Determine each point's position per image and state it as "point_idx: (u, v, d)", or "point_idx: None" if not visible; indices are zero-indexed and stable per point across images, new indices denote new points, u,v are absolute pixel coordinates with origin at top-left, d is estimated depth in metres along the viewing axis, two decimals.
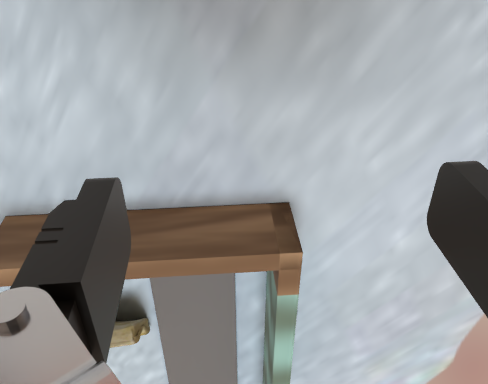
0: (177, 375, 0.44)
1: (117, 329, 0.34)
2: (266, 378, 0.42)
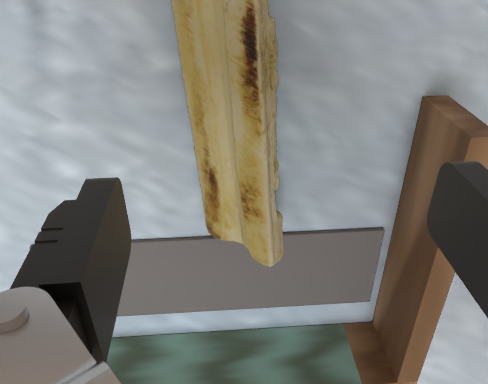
0: None
1: (282, 240, 0.25)
2: (150, 360, 0.33)
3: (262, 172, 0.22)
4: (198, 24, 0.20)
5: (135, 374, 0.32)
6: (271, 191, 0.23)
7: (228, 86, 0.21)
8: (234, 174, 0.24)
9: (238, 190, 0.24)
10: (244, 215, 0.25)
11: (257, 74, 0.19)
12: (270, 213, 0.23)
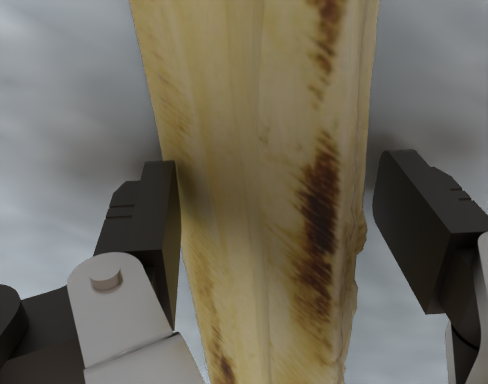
0: None
1: None
2: None
3: None
4: (202, 148, 0.10)
5: None
6: None
7: (260, 260, 0.11)
8: (265, 377, 0.14)
9: None
10: None
11: (330, 275, 0.09)
12: None
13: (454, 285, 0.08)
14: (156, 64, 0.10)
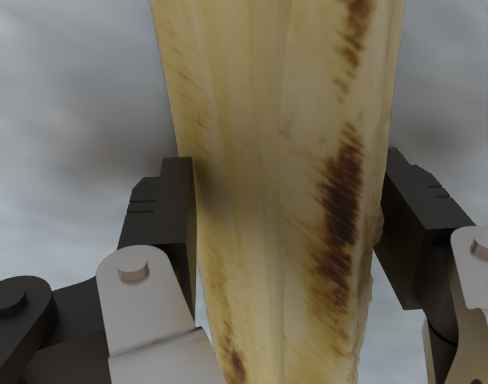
0: None
1: None
2: None
3: None
4: (220, 142, 0.10)
5: None
6: None
7: (276, 254, 0.11)
8: (277, 370, 0.14)
9: None
10: None
11: (350, 266, 0.09)
12: None
13: (429, 281, 0.08)
14: (176, 59, 0.10)
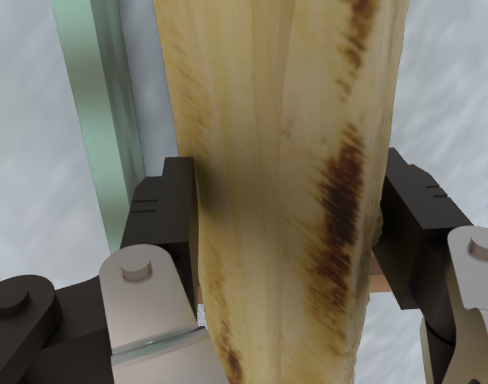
0: None
1: None
2: None
3: None
4: (221, 141, 0.10)
5: None
6: None
7: (275, 254, 0.11)
8: (274, 370, 0.14)
9: None
10: None
11: (348, 267, 0.09)
12: None
13: (427, 280, 0.08)
14: (177, 58, 0.10)
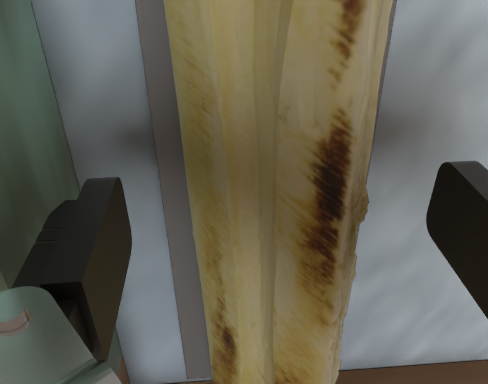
0: None
1: None
2: None
3: (322, 372, 0.13)
4: (222, 126, 0.11)
5: None
6: None
7: (270, 232, 0.12)
8: (266, 345, 0.15)
9: (271, 368, 0.15)
10: None
11: (337, 240, 0.10)
12: None
13: None
14: (184, 49, 0.11)
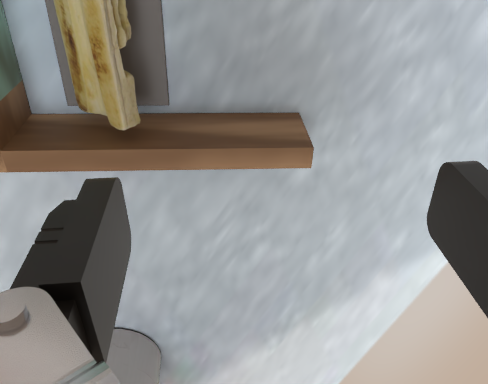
0: None
1: (136, 106, 0.27)
2: None
3: (101, 19, 0.23)
4: None
5: None
6: (114, 43, 0.24)
7: None
8: (87, 32, 0.25)
9: (91, 48, 0.25)
10: (97, 75, 0.26)
11: None
12: (116, 67, 0.24)
13: None
14: None
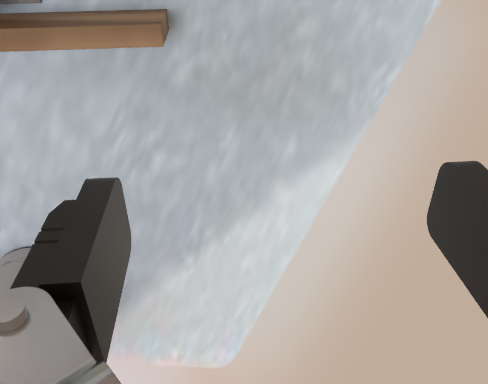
0: None
1: None
2: None
3: None
4: None
5: None
6: None
7: None
8: None
9: None
10: None
11: None
12: None
13: None
14: None
